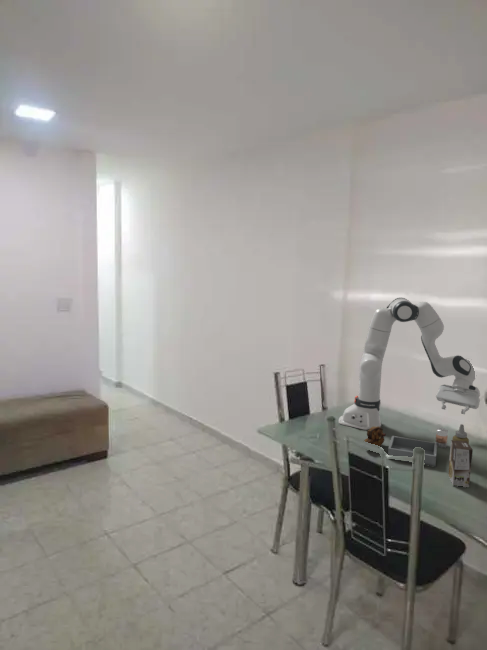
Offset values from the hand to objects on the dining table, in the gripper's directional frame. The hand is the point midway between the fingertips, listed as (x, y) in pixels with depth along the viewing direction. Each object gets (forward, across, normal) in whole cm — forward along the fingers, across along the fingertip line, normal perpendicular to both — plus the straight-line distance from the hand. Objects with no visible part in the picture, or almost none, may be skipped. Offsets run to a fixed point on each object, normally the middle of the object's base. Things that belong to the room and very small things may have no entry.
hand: (452, 411), depth 234 cm
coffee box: (+41, +19, -21) cm, 50 cm away
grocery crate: (+34, -5, -13) cm, 37 cm away
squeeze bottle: (+29, +13, -8) cm, 33 cm away
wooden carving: (+37, -22, -16) cm, 46 cm away
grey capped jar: (+19, 0, +2) cm, 19 cm away
